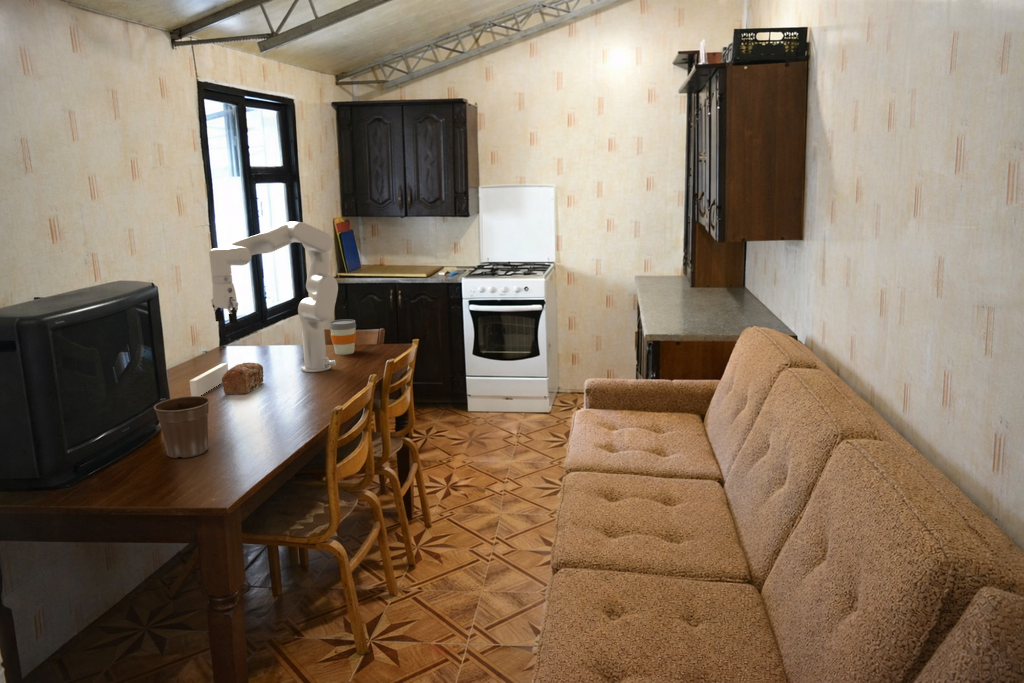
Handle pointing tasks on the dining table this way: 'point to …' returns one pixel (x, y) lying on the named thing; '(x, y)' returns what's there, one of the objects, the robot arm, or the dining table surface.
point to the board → (208, 380)
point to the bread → (242, 378)
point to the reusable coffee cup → (343, 336)
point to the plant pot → (184, 425)
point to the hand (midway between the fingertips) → (226, 322)
